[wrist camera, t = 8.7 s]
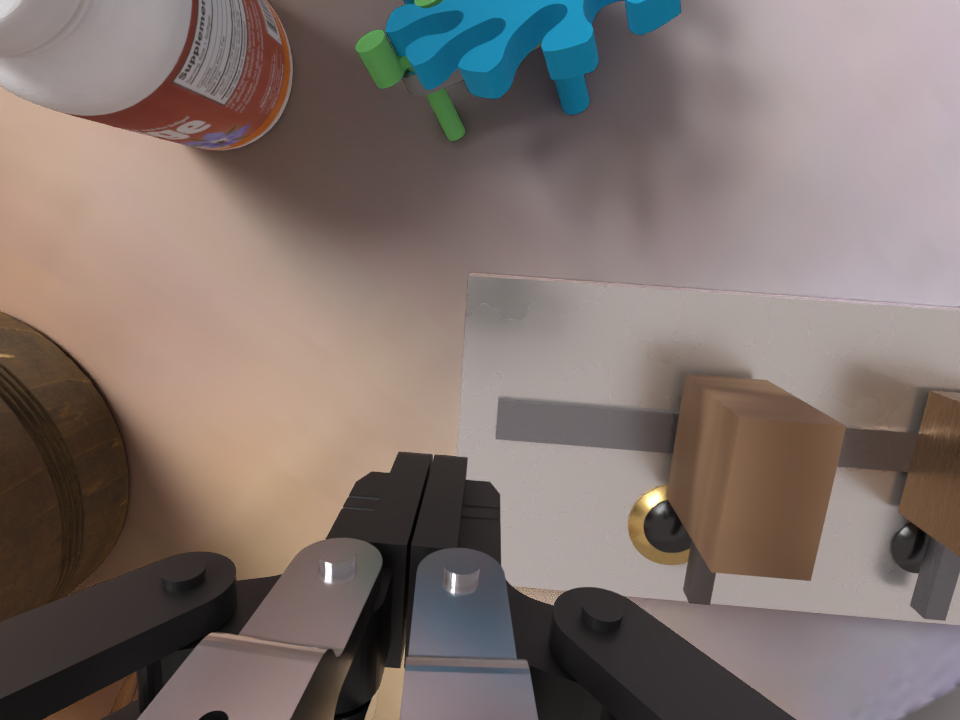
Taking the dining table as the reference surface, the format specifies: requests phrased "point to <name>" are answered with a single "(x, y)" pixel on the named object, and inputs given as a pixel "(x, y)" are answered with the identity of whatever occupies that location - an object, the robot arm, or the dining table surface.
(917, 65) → the dining table surface
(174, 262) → the dining table surface
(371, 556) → the robot arm
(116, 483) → the wooden container
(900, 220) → the dining table surface
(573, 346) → the plate
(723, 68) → the dining table surface
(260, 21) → the pill bottle
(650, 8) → the gear
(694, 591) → the sliding block
